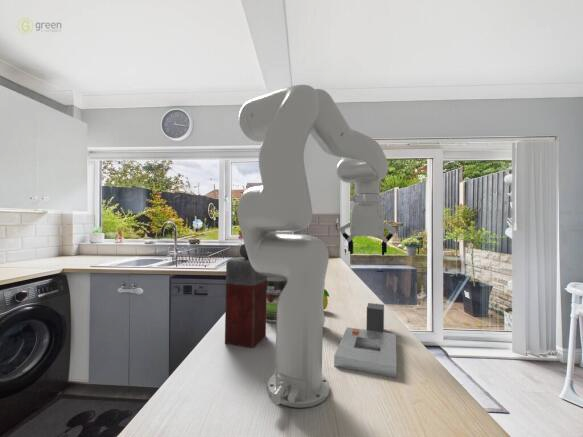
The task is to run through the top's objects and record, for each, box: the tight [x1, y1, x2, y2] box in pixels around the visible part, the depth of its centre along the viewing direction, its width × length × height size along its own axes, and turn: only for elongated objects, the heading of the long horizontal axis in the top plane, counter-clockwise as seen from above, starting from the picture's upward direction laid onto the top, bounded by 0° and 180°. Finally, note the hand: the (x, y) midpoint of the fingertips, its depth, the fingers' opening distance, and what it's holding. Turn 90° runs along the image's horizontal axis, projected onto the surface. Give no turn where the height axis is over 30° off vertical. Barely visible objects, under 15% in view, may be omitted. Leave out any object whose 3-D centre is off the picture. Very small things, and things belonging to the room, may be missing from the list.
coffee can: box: [266, 276, 287, 323], centre depth 102 cm, size 10×10×14 cm
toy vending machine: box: [224, 243, 267, 349], centre depth 84 cm, size 9×11×28 cm
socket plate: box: [333, 327, 397, 378], centre depth 75 cm, size 20×14×3 cm
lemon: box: [323, 288, 330, 310], centre depth 110 cm, size 7×6×10 cm
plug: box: [366, 302, 385, 332], centre depth 92 cm, size 9×5×8 cm, turn 160°
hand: (367, 254), depth 90 cm, fingers open, 9 cm apart
